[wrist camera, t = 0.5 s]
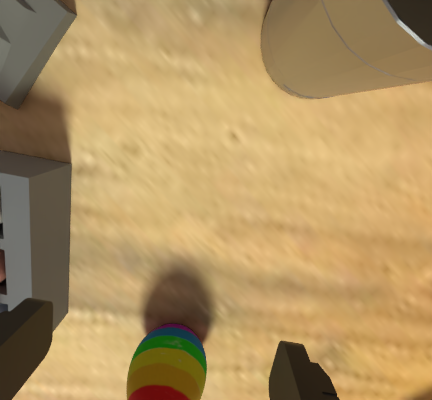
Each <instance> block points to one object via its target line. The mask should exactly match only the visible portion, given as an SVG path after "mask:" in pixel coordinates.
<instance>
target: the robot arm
mask: <svg viewBox="0 0 432 400" xmlns="http://www.w3.org/2000/svg"><path fill="white" fill-rule="evenodd" d="M261 52H262V59H263V62H264V65H265V67H266V70H267V72H268V74H269V75H270V77H271V78H272V80H273V81H274V82H275V83H276V84H277V85H278V86H279V87H280V88H281V89H282V90H284V91H285V92H287V93H289V94H290V95H293V96H296V97H299V98H306V99H320V98H328V97H333V96H338V95H345V94H351V93H358V92H364V91H371V90H377V89H384V88H390V87H397V86H403V85H410V84H416V83H423V82H429V81H432V0H272V2H271V5H270V7H269V10H268V12H267V15H266V17H265V19H264V23H263V28H262V32H261ZM52 333H53V303H52V302H51V301H47V300H41V299H35V298H26V299H24V300H23V301H22V302H21V303H20V304H18V305H17V306H16V307H15V308H14V309H12V310H11V311H3V312H1V313H0V400H12V398H13V397H14V396H15V395H16V393H17V392H18V391H19V390H20V388H21V387H22V386H23V385H24V383H25V382H26V381H27V379H28V378H29V377H30V376H31V374H32V373H33V372H34V371H35V369H36V368H37V367H38V366H39V364H40V363H41V362H42V360H43V359H44V358H45V356H46V354H47V353H48V351H49V348H50V346H51V342H52ZM269 397H270V400H339V398H338V397H337V393H336V391H335V388H334V386H333V384H332V382H331V379H330V377H329V376H328V375H327V374H326V373H325V371H324V370H323V369H322V368H321V367H320V365H319V364H318V363H312V362H310V360H309V357H308V354H307V352H306V349H305V347H304V345H303V344H299V343H293V342H287V341H280V342H279V345H278V348H277V352H276V355H275V359H274V362H273V366H272V369H271V373H270V377H269Z"/></svg>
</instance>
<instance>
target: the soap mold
mask: <svg viewBox="0 0 432 400" xmlns="http://www.w3.org/2000/svg"><path fill="white" fill-rule="evenodd" d="M76 16H77V15H76V14H75V13H74V12H73V11H72V10H70V9H69V8H68V7H67V6H66V5H65V4H64V3H63V2H61V1H60V0H0V100H1V101H2V102H4V103H5V104H7V105H9V106H11V107H13V108H16V109H18V108H19V107H20V105H21V103H22V102H23V100H24V99H25V97H26V95H27V94H28V92H29V90H30V89H31V87H32V86H33V84H34V82H35V81H36V79H37V77H38V76H39V74H40V73H41V71H42V69H43V68H44V66H45V64H46V63H47V61H48V60H49V58H50V56H51V55H52V53H53V51H54V50H55V48H56V47H57V45H58V43H59V42H60V40H61V39H62V37H63V36H64V34H65V33H66V31H67V30H68V28H69V27H70V25H71V24H72V22H73V21H74V19H75V18H76Z"/></svg>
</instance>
